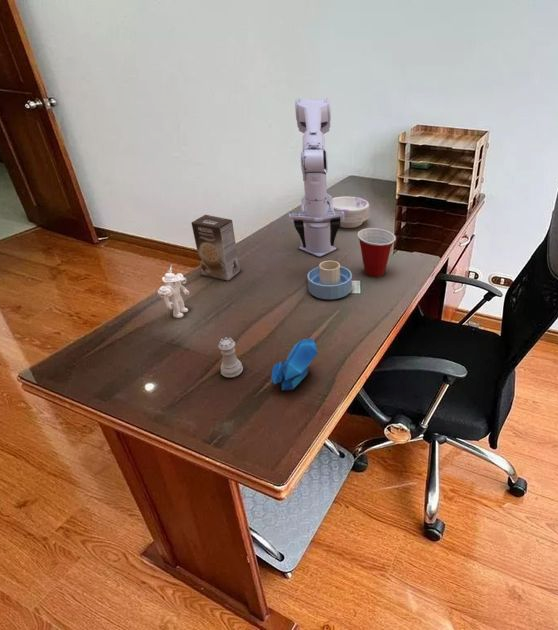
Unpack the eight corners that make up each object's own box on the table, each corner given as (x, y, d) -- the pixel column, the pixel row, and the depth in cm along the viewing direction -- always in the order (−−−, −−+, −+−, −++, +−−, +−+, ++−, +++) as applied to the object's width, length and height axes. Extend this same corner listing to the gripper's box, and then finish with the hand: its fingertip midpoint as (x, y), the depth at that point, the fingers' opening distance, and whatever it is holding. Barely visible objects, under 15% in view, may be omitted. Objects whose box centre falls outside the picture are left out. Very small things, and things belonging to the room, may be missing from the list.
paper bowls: (376, 221, 162) (377, 200, 158) (353, 235, 151) (353, 213, 147) (343, 213, 169) (343, 192, 164) (318, 225, 158) (317, 203, 154)
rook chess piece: (223, 365, 93) (216, 334, 88) (244, 364, 93) (239, 334, 89) (219, 379, 89) (212, 348, 85) (241, 378, 89) (235, 347, 85)
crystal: (258, 368, 82) (290, 324, 89) (269, 394, 88) (298, 351, 96) (292, 379, 79) (322, 333, 87) (301, 405, 86) (329, 360, 93)
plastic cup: (390, 283, 124) (392, 244, 117) (353, 278, 125) (353, 240, 119) (396, 266, 133) (398, 229, 126) (361, 262, 134) (362, 225, 128)
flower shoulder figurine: (182, 302, 113) (172, 261, 106) (196, 304, 112) (186, 262, 106) (162, 322, 105) (149, 278, 99) (177, 324, 105) (165, 280, 98)
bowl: (299, 290, 119) (298, 276, 117) (329, 274, 127) (329, 261, 125) (331, 305, 113) (330, 291, 111) (360, 288, 121) (360, 274, 118)
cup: (316, 288, 119) (314, 265, 116) (330, 281, 123) (329, 258, 119) (330, 295, 117) (330, 272, 113) (344, 287, 120) (344, 264, 116)
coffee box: (200, 275, 125) (189, 222, 116) (214, 265, 130) (204, 214, 121) (228, 281, 123) (218, 227, 114) (241, 271, 128) (232, 218, 119)
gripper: (288, 203, 110) (292, 253, 117) (345, 201, 112) (346, 249, 120) (287, 194, 115) (291, 242, 123) (341, 192, 118) (342, 239, 125)
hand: (318, 245), depth 122 cm, fingers open, 7 cm apart
